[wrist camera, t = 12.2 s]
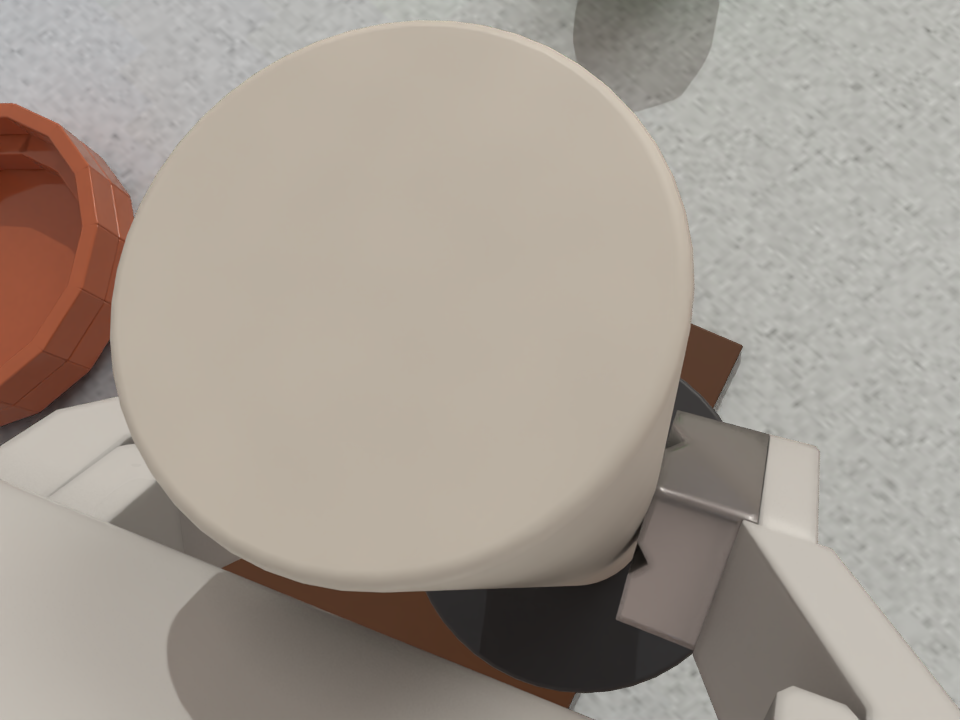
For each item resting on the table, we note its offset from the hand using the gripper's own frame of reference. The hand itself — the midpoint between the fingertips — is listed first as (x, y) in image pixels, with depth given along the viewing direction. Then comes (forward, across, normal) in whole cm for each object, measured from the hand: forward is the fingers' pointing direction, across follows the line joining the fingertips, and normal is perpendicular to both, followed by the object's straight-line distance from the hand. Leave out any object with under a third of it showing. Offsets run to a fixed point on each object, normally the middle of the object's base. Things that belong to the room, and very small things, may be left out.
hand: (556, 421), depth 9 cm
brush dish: (+12, +24, +10) cm, 28 cm away
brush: (+5, 0, +6) cm, 8 cm away
